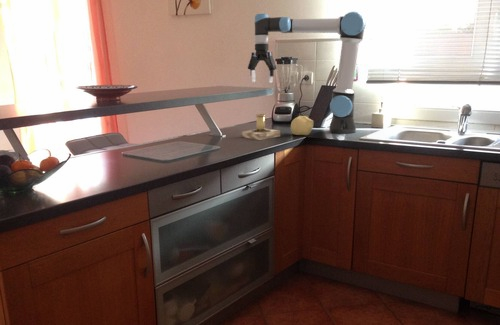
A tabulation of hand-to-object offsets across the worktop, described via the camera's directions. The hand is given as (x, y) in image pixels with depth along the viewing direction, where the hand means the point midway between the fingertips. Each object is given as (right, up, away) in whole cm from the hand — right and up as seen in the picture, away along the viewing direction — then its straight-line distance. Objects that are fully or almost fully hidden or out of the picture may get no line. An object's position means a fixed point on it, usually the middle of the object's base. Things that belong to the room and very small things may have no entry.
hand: (261, 82), depth 250 cm
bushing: (-1, -31, -6) cm, 32 cm away
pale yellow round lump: (+22, -30, -3) cm, 37 cm away
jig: (-1, -31, -6) cm, 32 cm away
